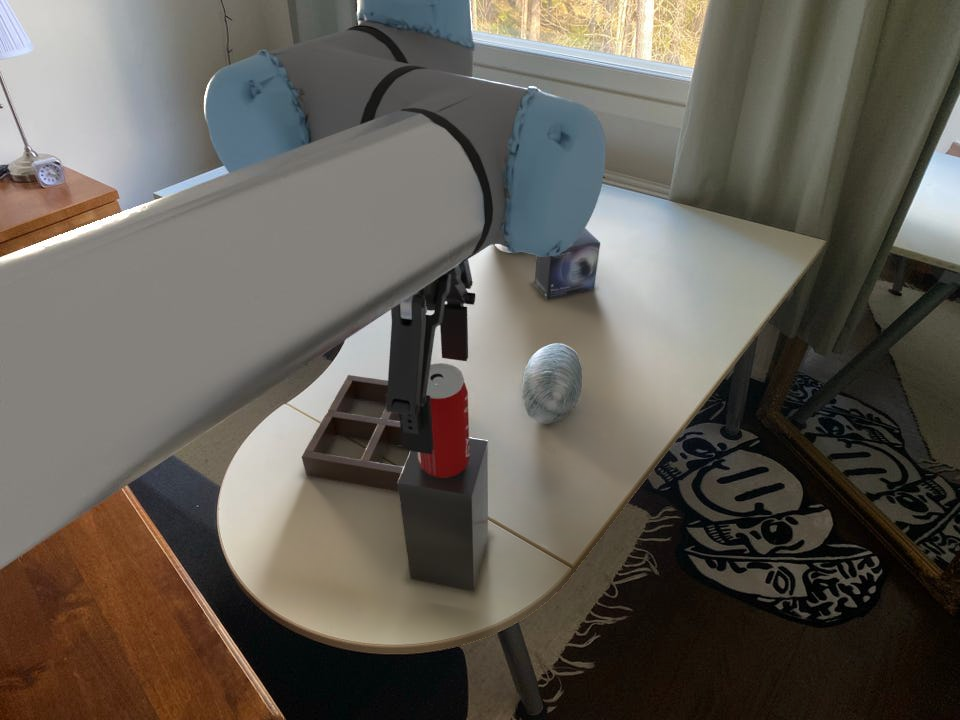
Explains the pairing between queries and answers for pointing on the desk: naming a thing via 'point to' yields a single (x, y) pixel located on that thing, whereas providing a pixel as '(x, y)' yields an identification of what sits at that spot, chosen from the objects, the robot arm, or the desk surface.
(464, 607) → the desk surface
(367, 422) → the can rack
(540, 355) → the yarn skein
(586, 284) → the small box
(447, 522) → the block
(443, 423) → the soda can
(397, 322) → the robot arm
